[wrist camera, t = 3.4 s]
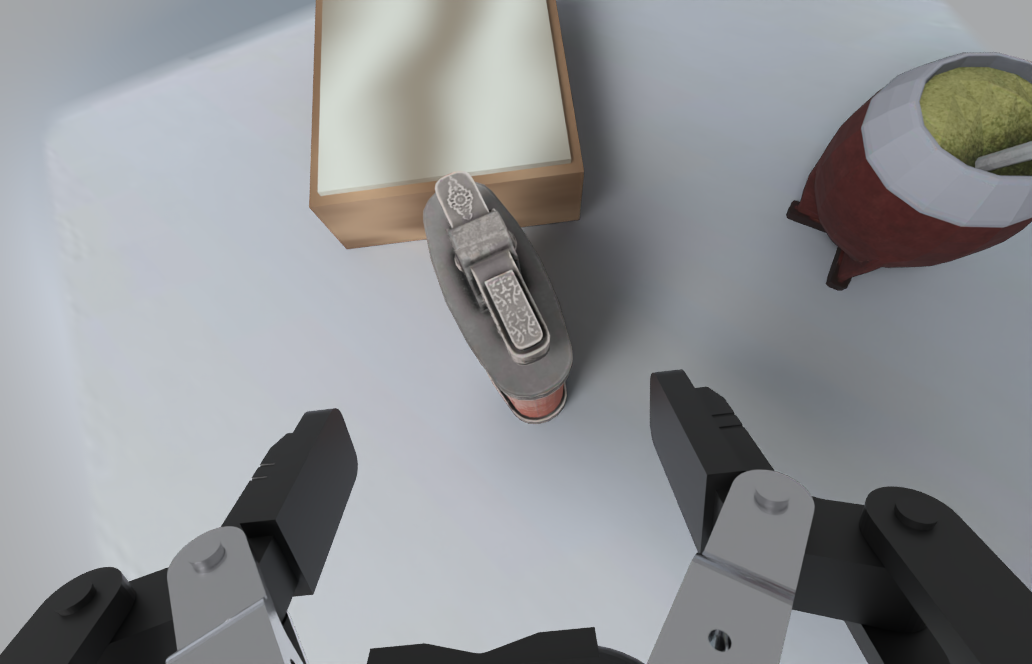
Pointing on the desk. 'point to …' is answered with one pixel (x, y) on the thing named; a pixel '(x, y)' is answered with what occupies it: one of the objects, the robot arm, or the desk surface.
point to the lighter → (499, 296)
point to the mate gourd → (927, 168)
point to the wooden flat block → (439, 113)
